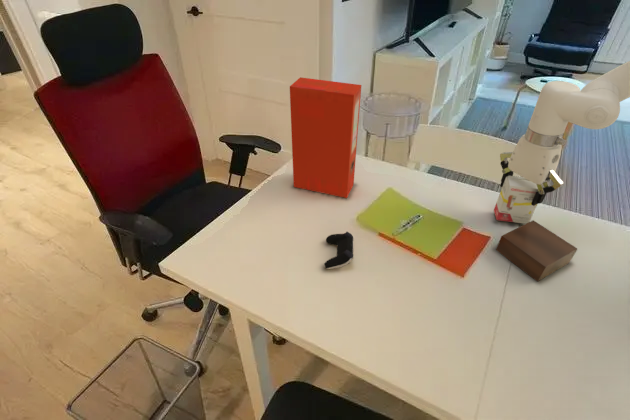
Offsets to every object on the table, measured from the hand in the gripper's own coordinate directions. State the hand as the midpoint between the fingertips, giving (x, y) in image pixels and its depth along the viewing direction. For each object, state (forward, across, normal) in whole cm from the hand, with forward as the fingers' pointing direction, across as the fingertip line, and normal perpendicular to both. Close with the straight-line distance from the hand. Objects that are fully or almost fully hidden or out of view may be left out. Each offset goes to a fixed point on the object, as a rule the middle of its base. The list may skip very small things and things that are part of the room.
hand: (519, 194), depth 99 cm
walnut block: (+9, -12, +7) cm, 17 cm away
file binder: (+8, +40, +37) cm, 55 cm away
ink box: (+8, 0, 0) cm, 8 cm away
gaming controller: (+8, +12, +49) cm, 51 cm away
